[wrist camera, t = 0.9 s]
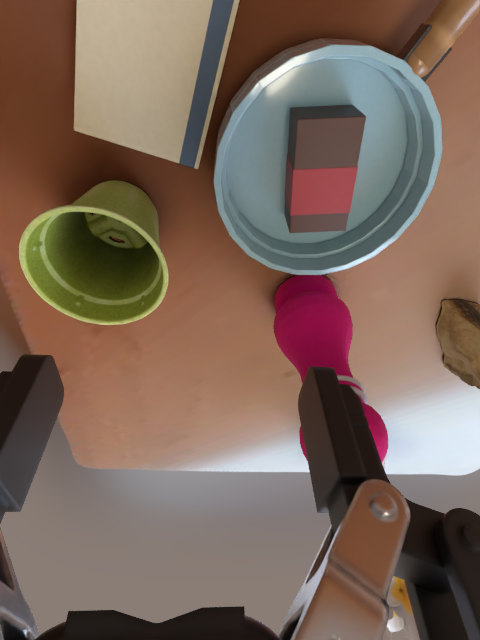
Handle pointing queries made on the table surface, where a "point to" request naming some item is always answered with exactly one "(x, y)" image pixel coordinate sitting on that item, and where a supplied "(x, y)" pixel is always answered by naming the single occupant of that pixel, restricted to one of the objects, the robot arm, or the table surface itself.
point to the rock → (461, 339)
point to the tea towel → (151, 72)
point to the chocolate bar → (322, 166)
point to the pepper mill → (320, 339)
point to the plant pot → (98, 255)
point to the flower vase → (400, 608)
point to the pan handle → (437, 36)
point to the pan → (373, 165)
